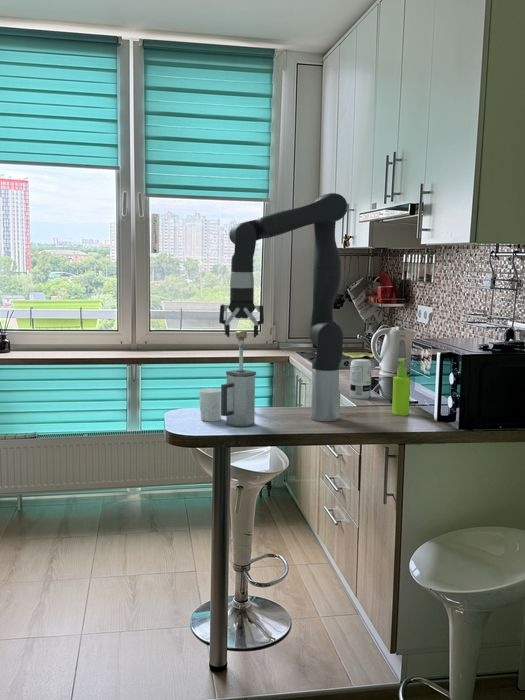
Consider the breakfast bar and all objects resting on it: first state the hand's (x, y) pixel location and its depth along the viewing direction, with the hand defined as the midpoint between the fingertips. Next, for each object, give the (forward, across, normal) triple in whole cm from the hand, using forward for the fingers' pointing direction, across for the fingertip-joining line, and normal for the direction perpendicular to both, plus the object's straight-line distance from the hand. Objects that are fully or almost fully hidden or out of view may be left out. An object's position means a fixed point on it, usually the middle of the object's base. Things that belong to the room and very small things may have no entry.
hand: (241, 337), depth 215 cm
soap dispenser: (+29, -56, -19) cm, 66 cm away
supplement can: (+29, -46, -49) cm, 73 cm away
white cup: (+29, +10, -6) cm, 31 cm away
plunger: (+18, 0, 0) cm, 18 cm away
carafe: (+29, +1, +1) cm, 29 cm away
